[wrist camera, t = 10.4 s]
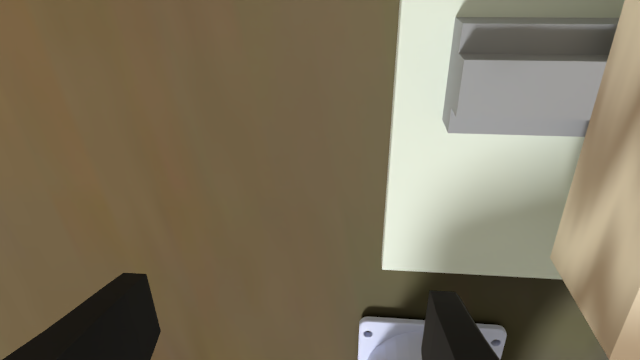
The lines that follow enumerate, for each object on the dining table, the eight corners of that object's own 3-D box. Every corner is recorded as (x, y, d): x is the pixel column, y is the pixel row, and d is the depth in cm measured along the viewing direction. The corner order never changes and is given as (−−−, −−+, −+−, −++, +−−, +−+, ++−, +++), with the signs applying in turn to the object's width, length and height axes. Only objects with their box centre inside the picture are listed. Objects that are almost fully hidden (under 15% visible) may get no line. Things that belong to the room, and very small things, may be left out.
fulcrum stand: (711, 274, 22) (768, 329, 18) (381, 257, 23) (383, 305, 20) (1005, -292, 12) (1221, -372, 9) (418, -262, 14) (432, -322, 11)
